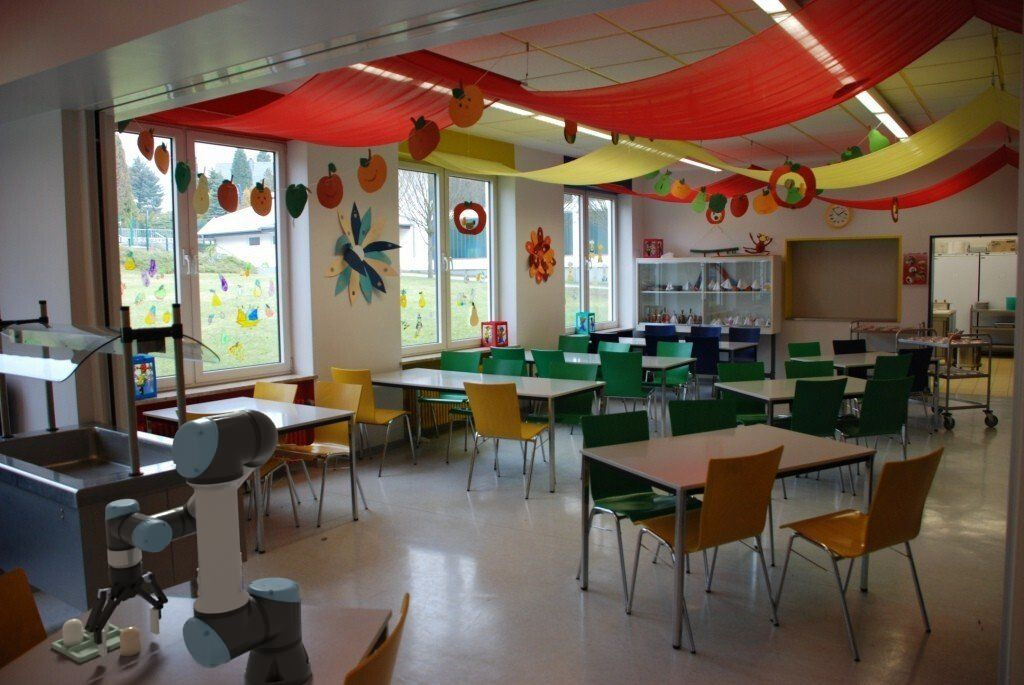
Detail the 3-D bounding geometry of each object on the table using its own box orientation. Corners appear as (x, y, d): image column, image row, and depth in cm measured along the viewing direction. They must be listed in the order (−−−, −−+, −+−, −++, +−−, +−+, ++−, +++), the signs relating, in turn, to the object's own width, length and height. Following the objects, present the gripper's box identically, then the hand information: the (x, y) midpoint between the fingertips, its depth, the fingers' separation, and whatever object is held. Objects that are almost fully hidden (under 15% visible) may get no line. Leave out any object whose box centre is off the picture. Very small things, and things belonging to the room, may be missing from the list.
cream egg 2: (113, 633, 205) (111, 608, 204) (95, 640, 201) (93, 615, 200) (103, 629, 207) (102, 604, 206) (86, 636, 203) (84, 610, 203)
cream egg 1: (87, 644, 199) (86, 618, 198) (69, 651, 195) (67, 625, 195) (78, 639, 202) (76, 613, 201) (60, 646, 198) (58, 620, 197)
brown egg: (145, 652, 196) (143, 626, 195) (127, 660, 192) (125, 633, 191) (134, 647, 198) (133, 621, 198) (117, 655, 195) (115, 628, 194)
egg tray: (135, 641, 201) (134, 635, 201) (80, 665, 190) (79, 658, 190) (106, 627, 209) (105, 621, 209) (51, 649, 198) (51, 642, 197)
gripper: (163, 543, 205) (167, 620, 207) (65, 575, 185) (70, 660, 187) (179, 549, 201) (183, 628, 203) (81, 583, 180) (87, 670, 183)
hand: (129, 643), depth 195 cm, fingers open, 13 cm apart
